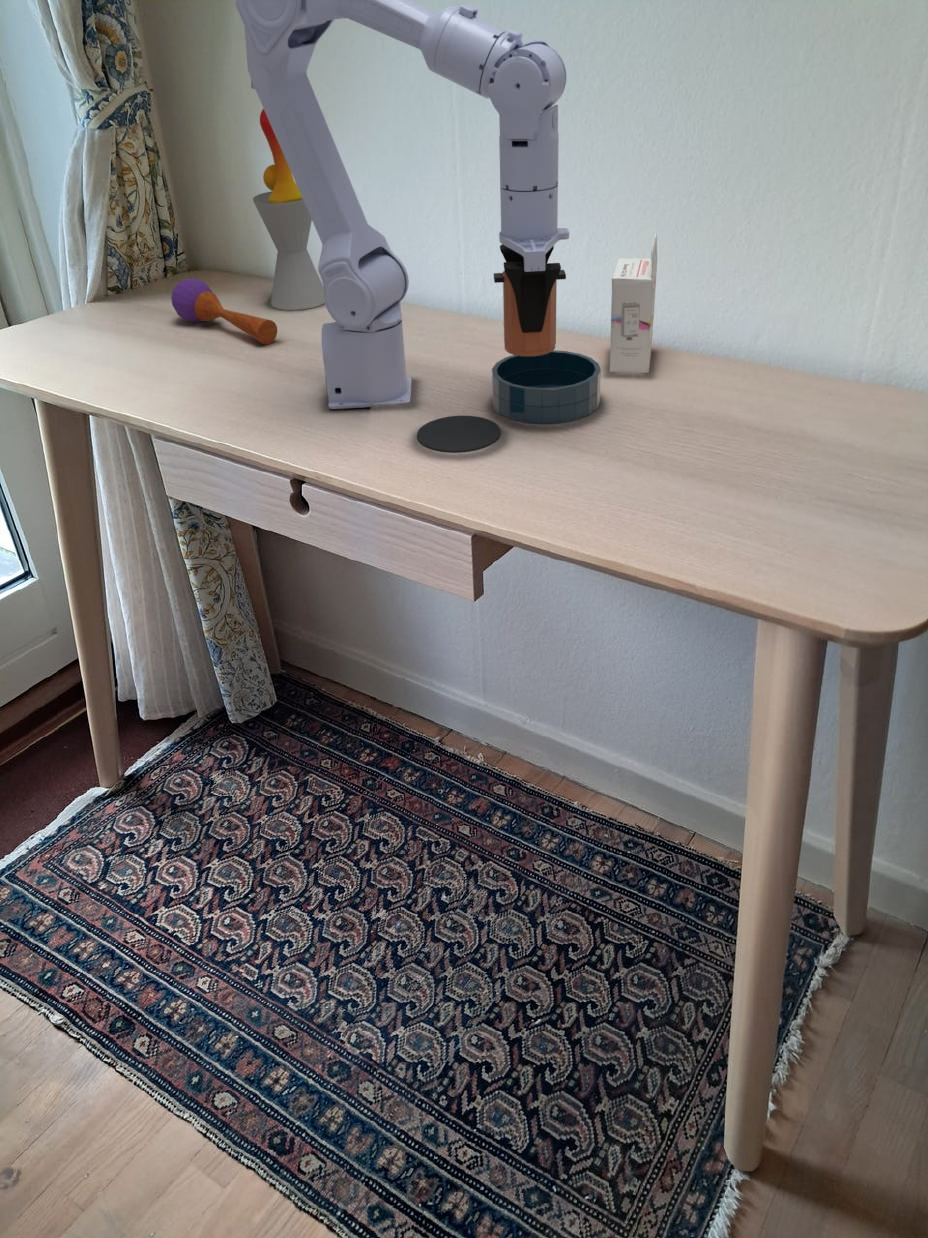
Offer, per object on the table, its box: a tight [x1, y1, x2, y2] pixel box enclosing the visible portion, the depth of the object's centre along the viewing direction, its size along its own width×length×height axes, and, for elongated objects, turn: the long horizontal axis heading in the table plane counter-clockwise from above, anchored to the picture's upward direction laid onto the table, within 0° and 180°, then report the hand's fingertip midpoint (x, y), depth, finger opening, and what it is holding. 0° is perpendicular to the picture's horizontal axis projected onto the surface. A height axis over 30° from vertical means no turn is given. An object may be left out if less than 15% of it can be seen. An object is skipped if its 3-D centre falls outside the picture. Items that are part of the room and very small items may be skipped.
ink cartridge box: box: [609, 232, 658, 374], centre depth 117 cm, size 9×5×15 cm, turn 168°
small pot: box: [493, 269, 567, 356], centre depth 104 cm, size 7×6×8 cm
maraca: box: [170, 278, 278, 346], centre depth 138 cm, size 6×6×20 cm
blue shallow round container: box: [491, 349, 602, 425], centre depth 111 cm, size 12×12×4 cm
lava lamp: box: [250, 80, 325, 311], centre depth 139 cm, size 9×9×35 cm
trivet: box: [416, 415, 502, 454], centre depth 106 cm, size 9×9×1 cm
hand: (529, 321), depth 105 cm, fingers closed on small pot, 5 cm apart
